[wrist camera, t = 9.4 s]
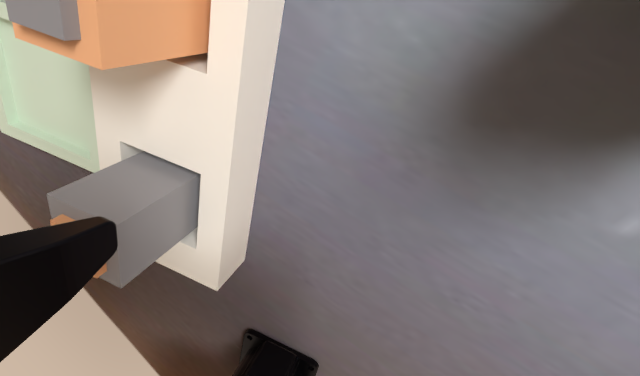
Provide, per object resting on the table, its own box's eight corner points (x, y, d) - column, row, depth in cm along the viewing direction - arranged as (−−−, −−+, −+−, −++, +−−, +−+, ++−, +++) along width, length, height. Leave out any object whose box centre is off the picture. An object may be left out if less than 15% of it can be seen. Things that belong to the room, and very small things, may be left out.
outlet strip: (244, 259, 26) (211, 297, 23) (144, 214, 28) (99, 243, 25) (303, -119, 15) (255, -158, 12) (131, -156, 17) (46, -198, 13)
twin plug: (215, 212, 25) (111, 296, 17) (166, 191, 25) (48, 264, 18) (219, 161, 23) (104, 233, 15) (167, 140, 23) (33, 199, 16)
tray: (116, 170, 27) (103, 176, 26) (17, 127, 29) (1, 132, 28) (105, 30, 22) (88, 31, 21) (-14, -10, 24) (-35, -11, 23)
